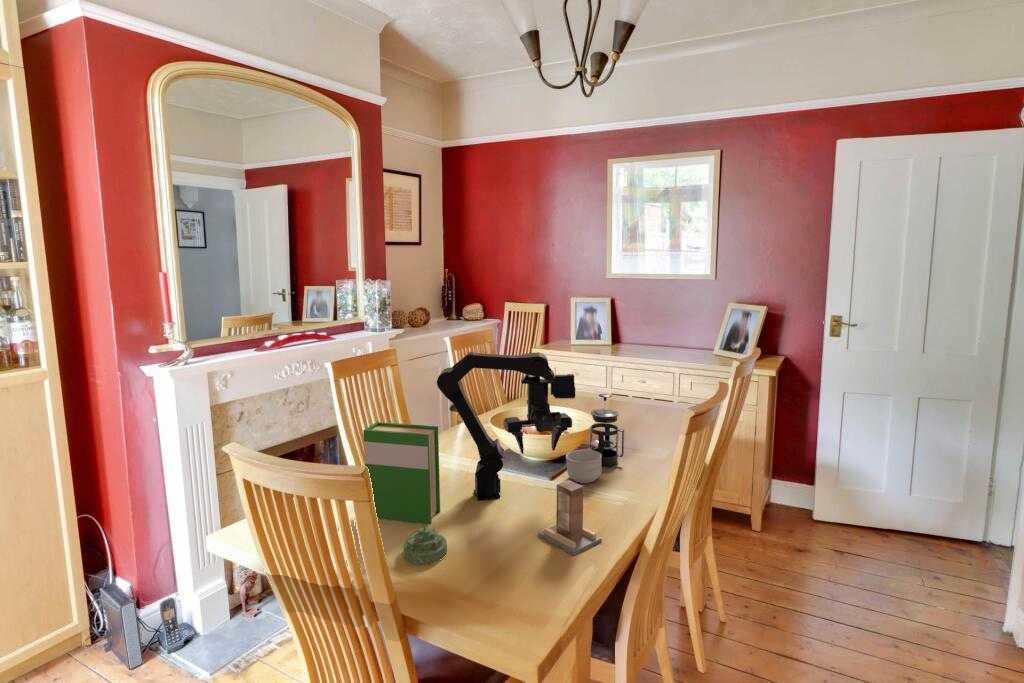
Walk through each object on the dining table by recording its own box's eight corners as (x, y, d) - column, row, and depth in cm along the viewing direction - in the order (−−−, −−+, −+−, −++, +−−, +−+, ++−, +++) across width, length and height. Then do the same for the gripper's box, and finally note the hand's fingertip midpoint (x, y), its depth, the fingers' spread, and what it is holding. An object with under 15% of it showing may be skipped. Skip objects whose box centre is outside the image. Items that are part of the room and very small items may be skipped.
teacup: (592, 489, 171) (592, 463, 170) (559, 481, 177) (559, 456, 176) (610, 473, 183) (611, 449, 182) (579, 467, 189) (579, 443, 187)
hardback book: (440, 512, 158) (438, 426, 154) (430, 524, 150) (427, 435, 146) (380, 505, 162) (376, 421, 158) (367, 517, 155) (363, 430, 151)
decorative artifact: (450, 544, 141) (410, 542, 142) (450, 516, 140) (409, 515, 141) (441, 566, 131) (398, 564, 132) (440, 537, 130) (397, 535, 131)
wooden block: (556, 534, 144) (556, 484, 141) (567, 529, 146) (568, 480, 144) (570, 542, 140) (571, 490, 138) (582, 536, 142) (583, 486, 140)
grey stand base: (537, 535, 144) (537, 528, 144) (566, 523, 151) (566, 516, 150) (573, 555, 135) (573, 547, 135) (601, 541, 142) (602, 533, 141)
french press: (583, 465, 190) (585, 396, 186) (591, 455, 199) (592, 389, 195) (619, 470, 186) (621, 400, 182) (625, 460, 194) (627, 392, 191)
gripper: (513, 408, 153) (513, 465, 156) (579, 403, 158) (579, 458, 160) (502, 398, 164) (503, 451, 166) (565, 393, 168) (565, 445, 171)
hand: (537, 451), depth 166 cm, fingers open, 9 cm apart
